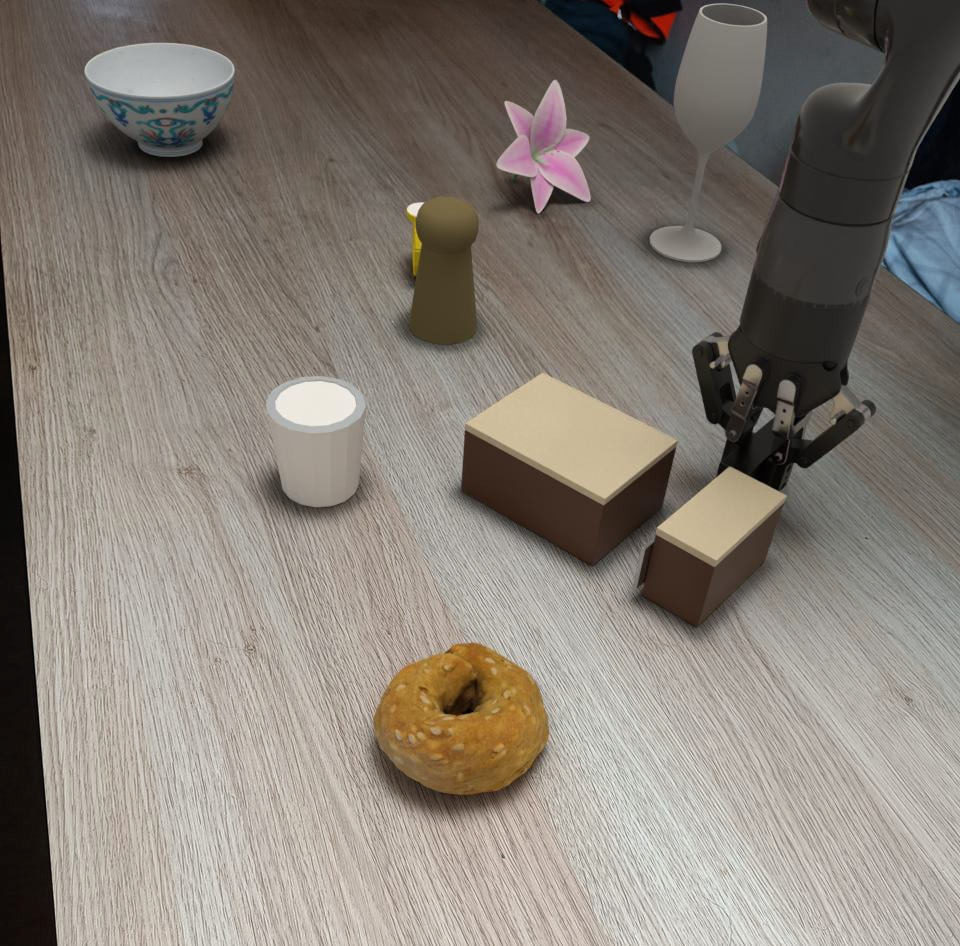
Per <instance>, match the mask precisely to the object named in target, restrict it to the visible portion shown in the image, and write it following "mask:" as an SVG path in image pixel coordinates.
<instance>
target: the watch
mask: <svg viewBox="0 0 960 946" xmlns="http://www.w3.org/2000/svg"><path fill="white" fill-rule="evenodd" d="M423 203H424V202H421V201H420V202H414V203H411V204H409V205H407V207H406V218H407V220H408V221H410V222H412V275H413V277H415V278H416V276H417V270H418V264H419V258H420V251H421V245H422V243H421V241H420V240H419V238H418V236H417V232H416V228H415V221H416V217H417V213H418V210H419V208H420V207H421V206H422V204H423Z"/></svg>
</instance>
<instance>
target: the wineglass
mask: <svg viewBox="0 0 960 946" xmlns="http://www.w3.org/2000/svg"><path fill="white" fill-rule="evenodd" d="M767 36H768V17H767V15H765V14H764V13H763V12H761V11H760V10H757V9H754V8H753V7H748V6H745V5H740V4H733V3H711V4H706V5H703V6H701V7H700V8H699V10H698V13H697V14H696V18H695V20H694V23H693V25H692V28H691V31H690V33H689V36H688V40H687V42H686V46H685V48H684V52H683V56H682V58H681V62H680V66H679V69H678V73H677V76H676V79H675V86H674V90H673V91H674V92H673V108H674V115H675V120H676V121H677V123H678V125H679V127H680V129H681V132H682V133H683V134H684V135H685V137H686V138H687V139H688V141H689V142H690V143H691V144H692V145H693V147H694V148H695V149H696V151H697V155H698V156H697V168H696V172H695V178H694V183H693V188H692V192H691V195H690V196H691V197H690V202H689V205H688V206H689V207H688V212H687V217H686V220H685V223H684V225H671V226H670V225H669V226H668V225H667V226H663V227H659V228H658V229H656V230H654V231H653V232H652V233H651V234H650V236H649V240H648V241H649V245H650V247H651V248H652V250H654V251H655V252H656V253H657V254H658V255H661V256H663V257H664V258H667V259H670V260H674V261H677V262H683V263H705V262H708V261H712V260H714V259H717V258H718V257H719V256H720V254H721V252H722V248H723V246H722V243H721V242H720V240H719V239H718V238H717V237H716V236H714V235H713V234H711V233H709V232H707V231H705V230H702V229H700V228H695V218H696V213H697V208H698V204H699V198H700V194H701V190H702V184H703V179H704V174H705V171H706V165H707V163H708V160H709V159H710V156H711V155H712V154H713V153H714V152H715V151H717V150H718V149H720V148H722V147H724V146H726V145H727V144H728V143H731V142H732V141H733V140H735V139H736V138H737V137H738V136H739V135H740V134H741V133H742V132H743V131H745V130H746V128H747V127H748V126H749V124H750V123H751V121H752V120H753V119H754V115H755V112H756V109H757V107H758V104H759V99H760V94H761V91H762V85H763V78H764V69H765V62H766V61H765V60H766V50H767Z"/></svg>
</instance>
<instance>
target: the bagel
mask: <svg viewBox="0 0 960 946" xmlns="http://www.w3.org/2000/svg"><path fill="white" fill-rule="evenodd" d="M544 706H545V705H544V699H543V697H542V694H541V689H540V687H539V685H538V682H537V680H535V679H534V677H533V676H532V674H531V673H530V672H529V671H528V670H526V669H525V668H523V667H522V666H520V665H518V664H516V663H515V662H513V661H512V660H510V659H508V658H506V657H505V656H503V654H500V653H499V652H497V651H495V650H494V649H492V648H491V647H488V646H486V645H484V644H481V643H479V642H467V643H466V642H465V643H462V642H459V643H456V644H454V645H451V646H450V647H449V648H448V649H447V650H446V651H445V652H440V653H437V654H431V655H430V656H428V657H425V658H423V659H420V660H418V661H414V662H410V663H408V664H407V665H405V666H404V667H402V669H401V670H399V671H398V672H397V673H396V675H395V676H394V677H393V678H392V679H391V680H390V682H389V684H388V685H387V687H386V688H385V691H384V692H383V693H382V696H381V698H380V702H379V703H378V704H377V707H376V712H375V714H374V715H373V718H372V719H373V720H372V721H373V725H374V736H375V738H376V740H377V743H378V746H379V748H380V749H381V750H382V752H384V753H385V754H386V755H387V756H388V758H389V760H390V761H391V762H393V764H394V766H395V767H396V768H397V769H398V770H400V771H401V772H402V773H403V774H405V776H407V777H408V778H410V779H412V780H414V781H415V782H419V784H421V785H422V786H423V787H426V788H428V789H430V790H433V791H435V792H438V793H443V794H450V795H458V796H461V795H467V796H469V795H470V796H471V795H477V794H483V793H488V792H496V791H500V790H501V789H502V788H505V787H508V786H509V785H511V783H512V782H514V781H515V780H516V779H518V778H520V777H521V776H522V775H524V774H525V773H526V772H527V771H528V770H529V769H530V768H531V767H532V765H533V763H534V762H535V760H536V758H537V757H538V756H539V754H540V753H541V752H542V751H543V750H544V748H545V747H546V745H547V743H548V741H549V738H550V737H549V736H550V727H549V716H548V714H547V711H546V708H545V707H544ZM468 709H470V710H471V711H473V712H470V713H466V712H467V710H468ZM464 713H465V714H464Z"/></svg>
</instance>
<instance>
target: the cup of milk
mask: <svg viewBox="0 0 960 946" xmlns="http://www.w3.org/2000/svg"><path fill="white" fill-rule="evenodd" d="M265 406H266V414H267V415H266V416H267V419H268V425H269V429H270V430H269V431H270V434H271V440H272V445H273V450H274V455H275V458H276V464H277V469H278V474H279V478H280V484H281V488H282V491H283V493H284V494H285V495H286V496H287V497H288V499H290V500H291V501H293V502H295V503H297V504H299V505H301V506H307V507H310V508H311V507H312V508H328V507H333V506H336V505H339V504H342V503H345V502H346V501H348V500H349V499H350V498H352V497H353V496H354V495H355V494H356V492H357V489H358V488H359V485H360V476H361V465H362V452H363V444H364V443H363V442H364V433H365V422H366V410H367V405H366V400H365V395H364V394H363V393H362V392H361V391H360V390H359V389H358V388H357V387H356V386H355V385H353V384H351V383H349V382H347V381H345V380H342V379H340V378H337V377H336V378H335V377H330V376H323V375H314V376H313V375H312V376H300V377H297V378H293V379H291V380H288V381H287V380H286V381H284V382H283V383H282V384H280V385H278V386H276V387H275V388H273V389H272V390H271V392H270V393H269V395H268V397H267V398H266V400H265Z"/></svg>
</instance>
